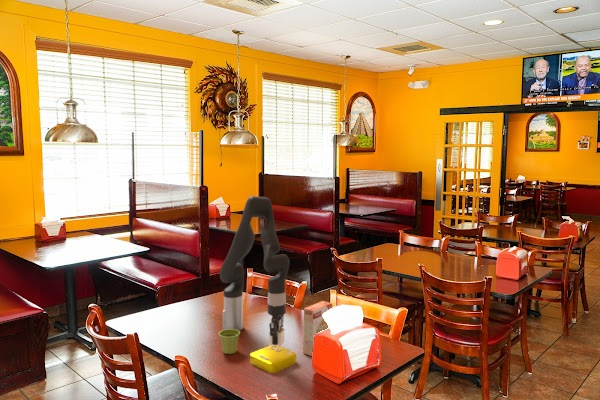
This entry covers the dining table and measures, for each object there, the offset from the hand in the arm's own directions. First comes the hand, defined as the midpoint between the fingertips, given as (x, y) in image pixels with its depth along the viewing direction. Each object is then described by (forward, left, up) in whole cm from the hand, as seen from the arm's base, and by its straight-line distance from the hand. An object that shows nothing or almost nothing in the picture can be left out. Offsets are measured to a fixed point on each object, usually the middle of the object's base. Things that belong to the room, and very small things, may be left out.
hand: (276, 341), depth 202 cm
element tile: (-2, +2, -11) cm, 11 cm away
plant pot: (-24, +8, -10) cm, 27 cm away
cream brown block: (0, 0, -1) cm, 1 cm away
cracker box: (+14, +18, -10) cm, 25 cm away
